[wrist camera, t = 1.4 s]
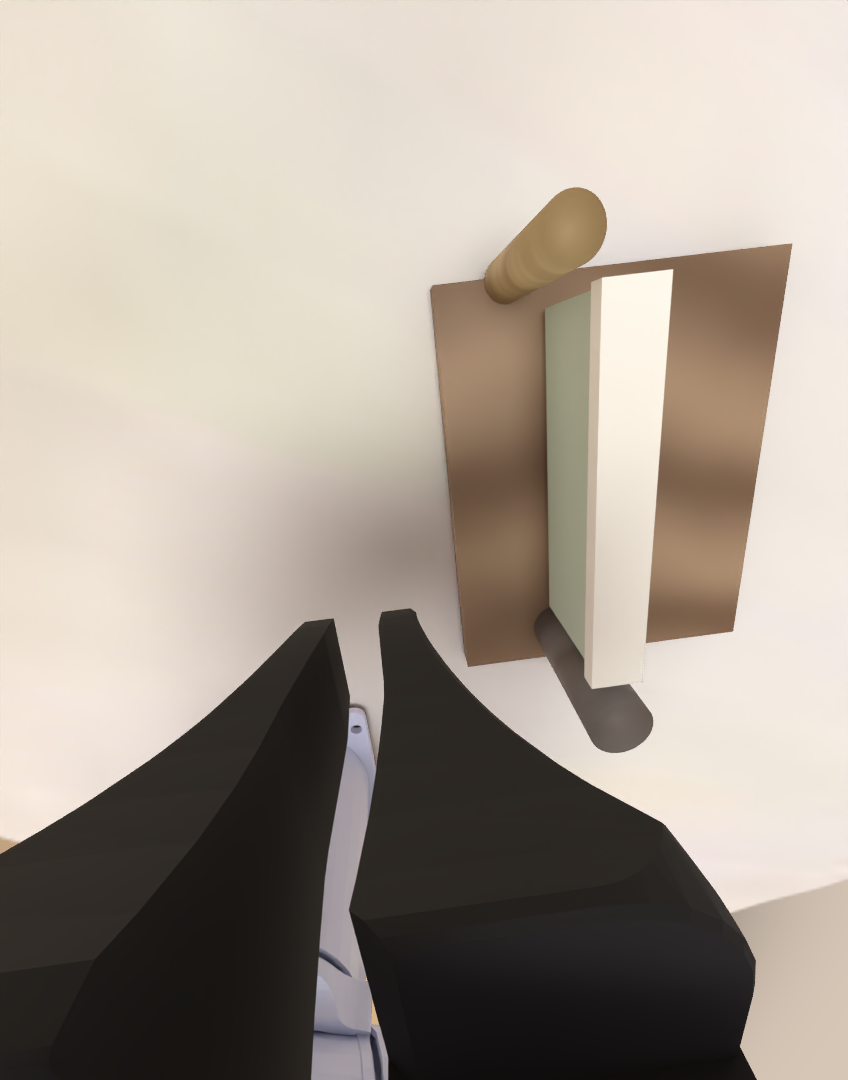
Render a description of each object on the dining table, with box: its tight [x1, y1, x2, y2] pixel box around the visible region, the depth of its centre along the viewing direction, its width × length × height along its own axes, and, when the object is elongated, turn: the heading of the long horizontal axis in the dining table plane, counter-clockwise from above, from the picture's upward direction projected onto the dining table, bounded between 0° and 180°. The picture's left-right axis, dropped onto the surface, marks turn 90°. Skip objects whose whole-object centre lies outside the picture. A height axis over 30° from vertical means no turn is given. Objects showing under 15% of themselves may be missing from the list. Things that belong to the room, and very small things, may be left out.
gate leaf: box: [545, 269, 673, 689], centre depth 14 cm, size 11×2×5 cm, turn 6°
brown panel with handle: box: [430, 188, 792, 753], centre depth 15 cm, size 16×12×7 cm
